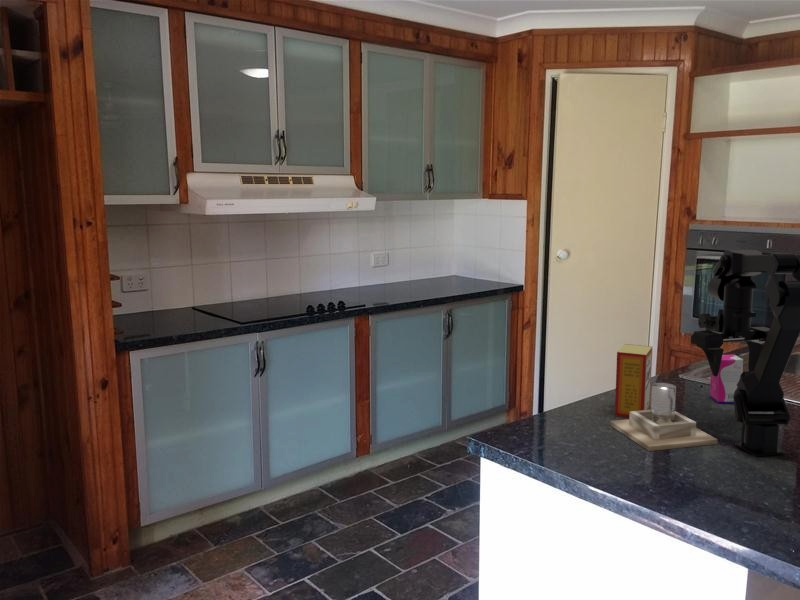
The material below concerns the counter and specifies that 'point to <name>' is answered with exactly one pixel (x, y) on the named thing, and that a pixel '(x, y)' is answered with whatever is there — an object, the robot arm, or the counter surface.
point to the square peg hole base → (662, 432)
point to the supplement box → (726, 379)
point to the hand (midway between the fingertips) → (733, 374)
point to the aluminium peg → (662, 403)
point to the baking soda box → (633, 379)
